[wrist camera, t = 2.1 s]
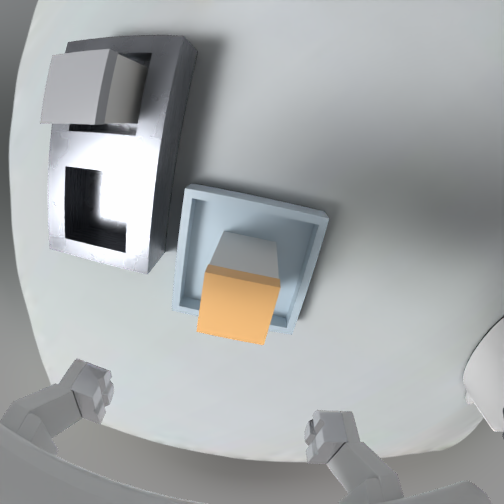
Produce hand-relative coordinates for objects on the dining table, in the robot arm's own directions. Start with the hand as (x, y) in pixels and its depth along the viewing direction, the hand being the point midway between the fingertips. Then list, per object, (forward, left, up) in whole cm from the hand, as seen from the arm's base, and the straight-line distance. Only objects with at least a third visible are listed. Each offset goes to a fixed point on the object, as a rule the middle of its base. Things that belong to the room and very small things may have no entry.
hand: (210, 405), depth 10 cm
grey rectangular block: (+11, -11, -13) cm, 20 cm away
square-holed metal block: (+11, -7, -14) cm, 19 cm away
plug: (0, 0, -14) cm, 14 cm away
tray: (0, 0, -14) cm, 14 cm away
